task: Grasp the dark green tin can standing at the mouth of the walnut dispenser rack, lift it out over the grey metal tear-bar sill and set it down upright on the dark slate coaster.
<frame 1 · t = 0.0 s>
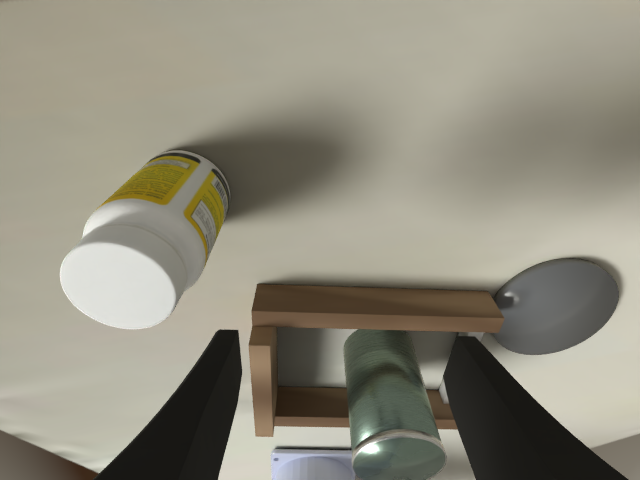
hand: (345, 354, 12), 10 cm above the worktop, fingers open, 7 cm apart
tin can: (377, 349, 27), resting in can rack
coaster: (548, 307, 25), on the worktop
supplement bottle: (189, 189, 20), on the worktop
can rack: (364, 349, 27), on the worktop
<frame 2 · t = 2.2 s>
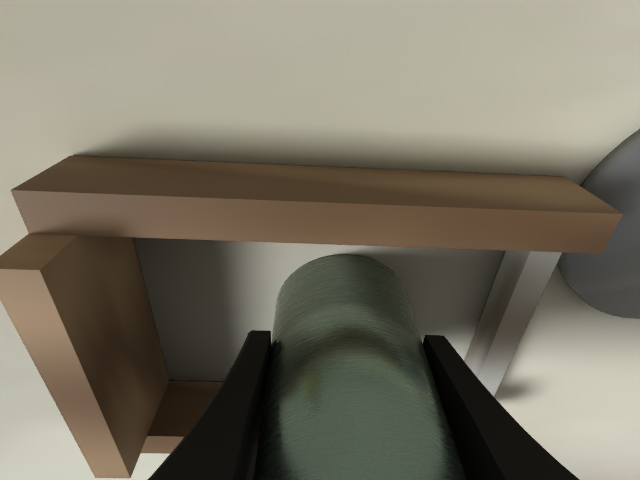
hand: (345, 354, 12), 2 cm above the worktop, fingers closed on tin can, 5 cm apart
tin can: (341, 308, 14), resting in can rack, touching gripper
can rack: (315, 308, 14), on the worktop
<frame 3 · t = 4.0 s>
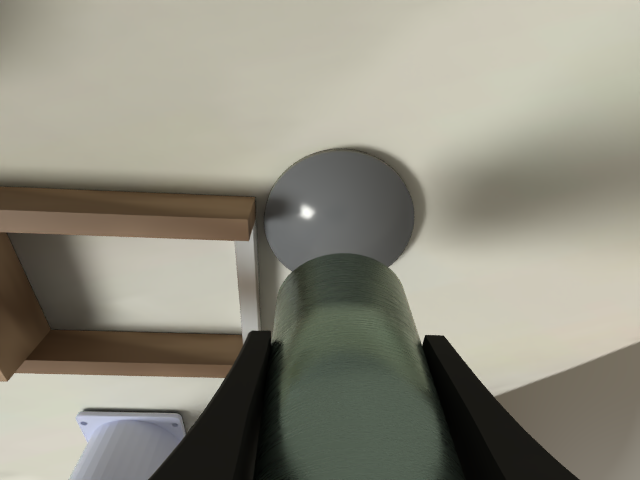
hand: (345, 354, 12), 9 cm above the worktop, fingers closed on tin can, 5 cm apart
tin can: (340, 306, 14), point 7 cm above the worktop, touching gripper
coaster: (338, 220, 20), on the worktop
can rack: (133, 278, 22), on the worktop
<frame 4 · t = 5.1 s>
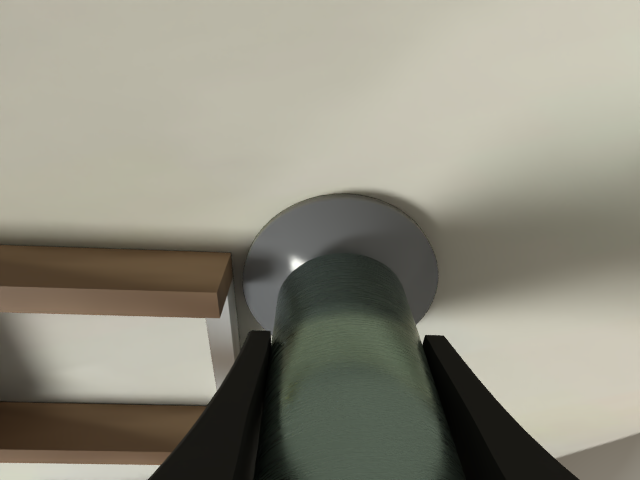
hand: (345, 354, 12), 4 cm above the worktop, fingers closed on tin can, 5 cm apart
tin can: (341, 306, 14), point 2 cm above the worktop, touching gripper
coaster: (339, 279, 16), on the worktop
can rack: (82, 346, 18), on the worktop
when the fingers open (4 cm above the worktop, at t = 5.9 s): tin can stays where it is, resting on coaster.
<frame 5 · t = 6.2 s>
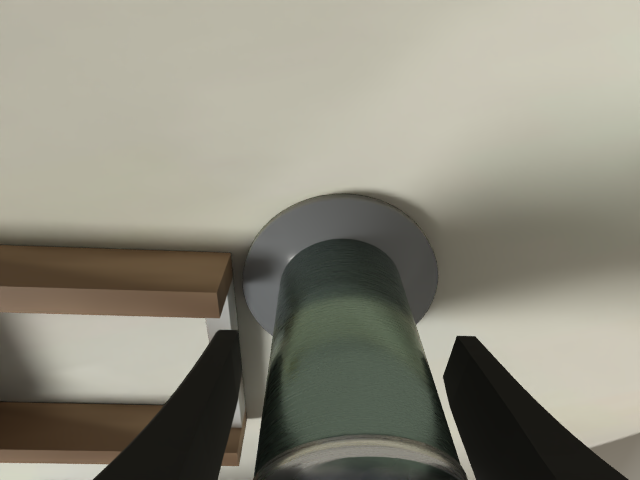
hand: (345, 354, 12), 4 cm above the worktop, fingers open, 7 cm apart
tin can: (340, 290, 15), point 1 cm above the worktop, touching coaster
coaster: (339, 279, 16), on the worktop
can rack: (82, 346, 18), on the worktop
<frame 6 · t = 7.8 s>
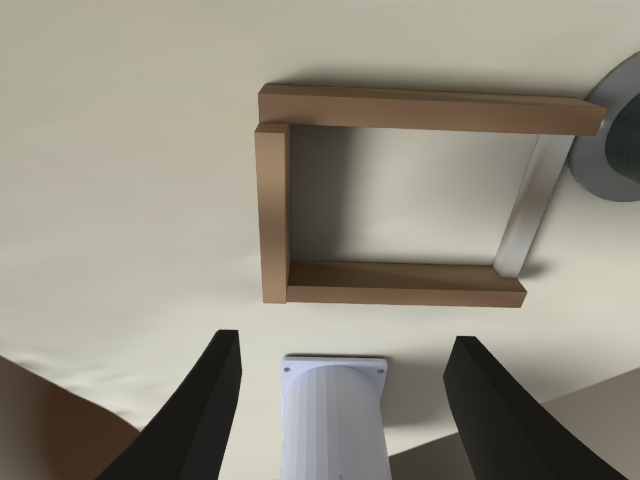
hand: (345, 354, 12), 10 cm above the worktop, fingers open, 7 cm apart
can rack: (402, 198, 21), on the worktop
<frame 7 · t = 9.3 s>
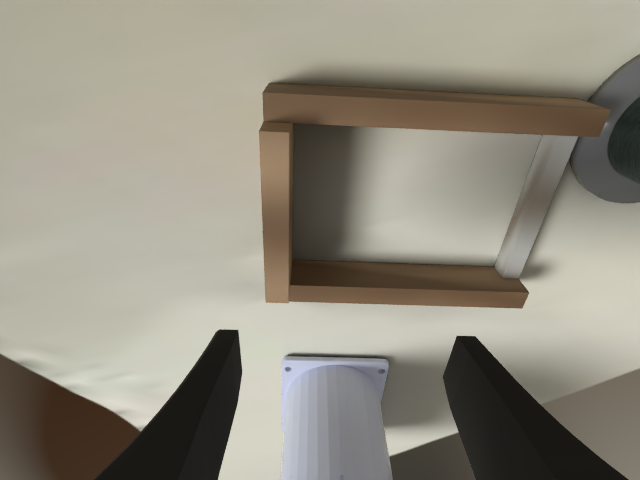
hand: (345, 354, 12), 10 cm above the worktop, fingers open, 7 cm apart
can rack: (404, 198, 21), on the worktop
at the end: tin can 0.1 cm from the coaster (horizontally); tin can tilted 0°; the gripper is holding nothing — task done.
